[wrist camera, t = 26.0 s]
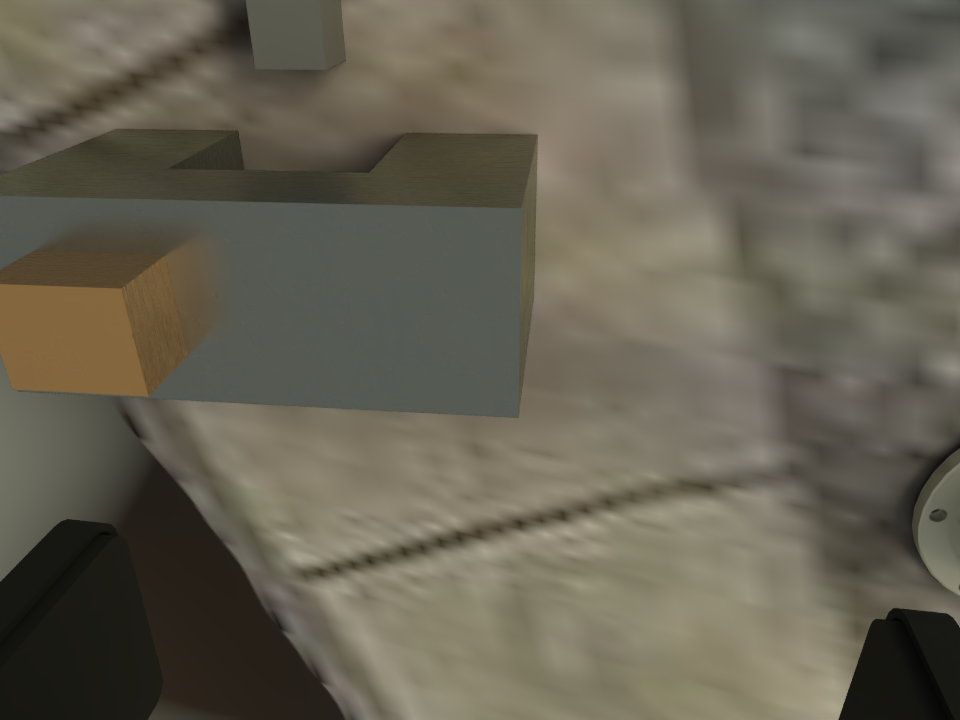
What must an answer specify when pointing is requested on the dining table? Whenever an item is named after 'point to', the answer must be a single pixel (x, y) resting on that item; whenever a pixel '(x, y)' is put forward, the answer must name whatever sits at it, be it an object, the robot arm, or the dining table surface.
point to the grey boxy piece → (272, 274)
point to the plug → (296, 34)
